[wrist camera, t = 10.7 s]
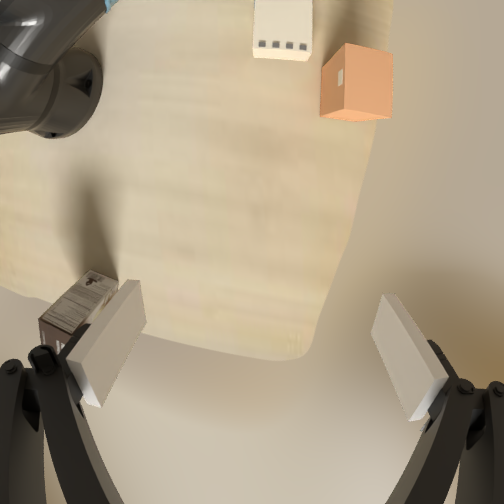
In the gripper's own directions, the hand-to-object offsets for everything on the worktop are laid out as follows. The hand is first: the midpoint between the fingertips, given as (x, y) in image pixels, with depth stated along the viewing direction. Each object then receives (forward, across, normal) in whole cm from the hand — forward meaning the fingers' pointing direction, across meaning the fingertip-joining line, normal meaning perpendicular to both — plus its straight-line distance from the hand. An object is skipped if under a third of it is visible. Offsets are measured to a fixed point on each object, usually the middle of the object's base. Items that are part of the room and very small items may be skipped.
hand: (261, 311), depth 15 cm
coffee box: (+27, -28, -18) cm, 42 cm away
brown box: (+27, +10, +16) cm, 32 cm away
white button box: (+27, +1, +26) cm, 37 cm away
